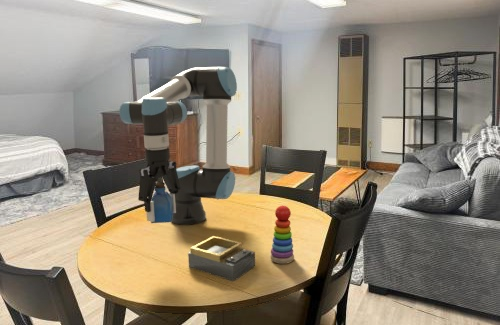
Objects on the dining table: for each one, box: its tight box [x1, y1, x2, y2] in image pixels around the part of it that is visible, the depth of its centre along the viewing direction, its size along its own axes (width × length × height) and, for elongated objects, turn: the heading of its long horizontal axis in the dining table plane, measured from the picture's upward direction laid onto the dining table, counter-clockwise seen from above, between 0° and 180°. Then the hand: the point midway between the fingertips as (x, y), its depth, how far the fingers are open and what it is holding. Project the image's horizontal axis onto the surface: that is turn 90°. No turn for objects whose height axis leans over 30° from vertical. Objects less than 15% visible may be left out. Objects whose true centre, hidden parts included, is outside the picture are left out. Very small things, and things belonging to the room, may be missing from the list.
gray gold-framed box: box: [187, 235, 256, 282], centre depth 136 cm, size 18×12×7 cm, turn 56°
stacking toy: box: [269, 205, 295, 265], centre depth 140 cm, size 8×8×19 cm
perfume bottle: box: [150, 181, 173, 224], centre depth 135 cm, size 6×6×12 cm
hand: (161, 216), depth 136 cm, fingers closed on perfume bottle, 9 cm apart
